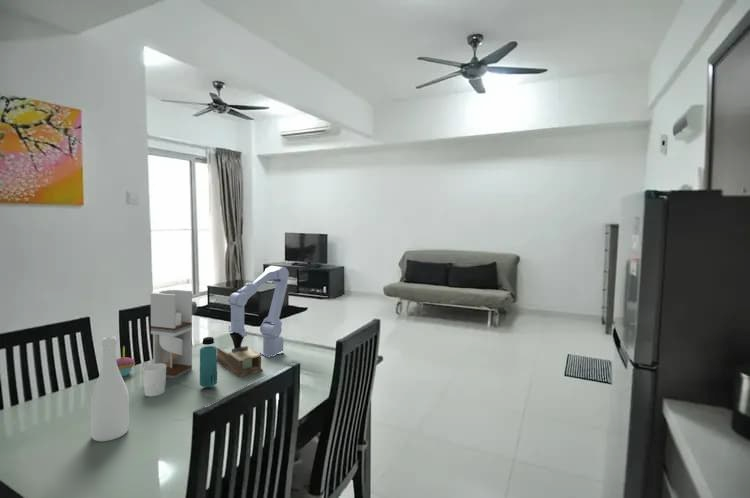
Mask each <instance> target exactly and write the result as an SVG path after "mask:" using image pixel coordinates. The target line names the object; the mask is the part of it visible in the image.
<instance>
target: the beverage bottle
mask: <svg viewBox="0 0 750 498" xmlns="http://www.w3.org/2000/svg"><path fill="white" fill-rule="evenodd" d="M214 338H215V337H213V336H207V337H203V338H202V344H203V346H202V347H201V348H200V349H199V385H200V387H203V388H210V387H214V386H216V385H217V383H218V362H217V348H218V347H216V346H215V345H214V343H215V339H214Z"/></svg>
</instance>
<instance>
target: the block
mask: <svg viewBox="0 0 750 498" xmlns="http://www.w3.org/2000/svg"><path fill="white" fill-rule="evenodd" d="M251 367H252V358H251V359H247V360H243V361H242V369H241V370H243V369H247V368H251Z"/></svg>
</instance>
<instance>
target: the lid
mask: <svg viewBox="0 0 750 498" xmlns="http://www.w3.org/2000/svg"><path fill="white" fill-rule="evenodd" d="M227 353H228V354H229V355H230V356H232V357H233V358H235V359H237V360H238V361H243V360H247V359H251V358H256V357H262V354H260V352H257V351H256V350H253V349H252V348H250V347H248V346H247V345H244V346H242V347H239V348H231V351H229V352H227Z"/></svg>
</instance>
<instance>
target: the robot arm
mask: <svg viewBox="0 0 750 498" xmlns="http://www.w3.org/2000/svg"><path fill="white" fill-rule="evenodd" d="M289 275H290V272H289V270H288V268H287V267H285V266H277V265H269V266H268V267H266V268H265V270H264V272H263V273H261V275H259V276H258V277H257V278H256V279H255V280H254V281H253V282H246V283H244V286H243V287H241V288H240V289H238V290H237V291H236V292H233V293H231V294H230V295H229V297H228V298H227V301H228V304H229V305H230V307H229V308H230V325H228V332H230V333H229V335H230V337H231V340H232V343H233V347H234V348H239V347H241V346H242V343H243V340H244V338H245V337H248V332H247V331H246V328H245V306H246V305H247V303H248V300H249V299H250V298H251V297H253V296H254V295H255V294H256V293H257V292H258V289H259V288H260V287H262V285H264V284H265V283H267V282H268V281H269V280H271V281H272V282H273V283H274V284H275V288H274V292H273V296H272V300H271V304H270V306H269V307H270V308H269V312H268V315H267V316H266V317H265V318H264V319H263V321H262V323H261V325H260V327H259V331H260V333H261V334H262V335H261V336H262V337H263V339H262V351H261V352H262V353H261V352H260V351H259V354H260V353H261V355H262V354H263V355H264V356H263V355H262V356H263V357H265V356H266V357H265V358H270V357H269V356H271V355H275V354H277V353H279V352H281V351H283V352H284V338H283V336H282V335H281V334H282V325H283V323H282V320H281V319H280V316H281V313H282V308H283V305H284V300H285V296H286V292H287V288H288V279H289ZM234 348H233V349H234Z"/></svg>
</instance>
